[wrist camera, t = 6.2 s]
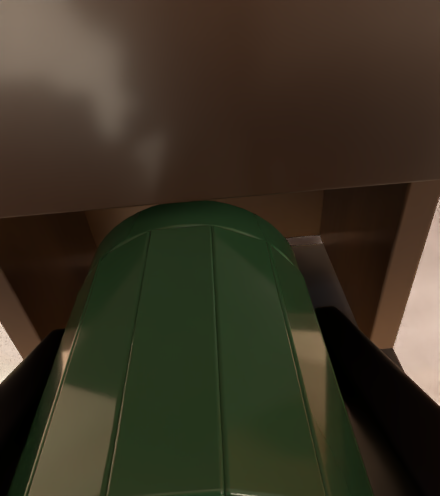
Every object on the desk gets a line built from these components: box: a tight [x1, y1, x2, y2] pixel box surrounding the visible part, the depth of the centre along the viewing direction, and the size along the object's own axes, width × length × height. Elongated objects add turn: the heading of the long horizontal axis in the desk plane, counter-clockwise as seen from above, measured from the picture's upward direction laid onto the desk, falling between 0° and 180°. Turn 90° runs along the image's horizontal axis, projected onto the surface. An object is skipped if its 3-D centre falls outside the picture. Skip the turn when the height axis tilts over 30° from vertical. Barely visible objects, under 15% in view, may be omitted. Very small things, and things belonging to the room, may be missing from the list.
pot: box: [7, 200, 374, 496], centre depth 7 cm, size 5×5×6 cm
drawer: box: [0, 180, 440, 373], centre depth 14 cm, size 16×12×7 cm
